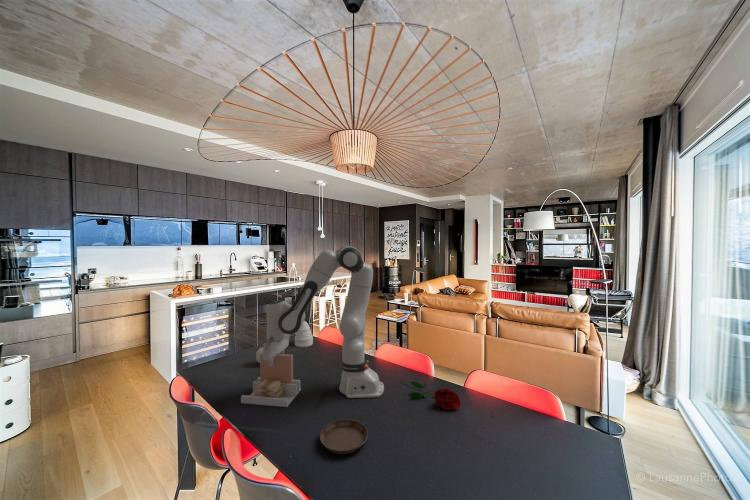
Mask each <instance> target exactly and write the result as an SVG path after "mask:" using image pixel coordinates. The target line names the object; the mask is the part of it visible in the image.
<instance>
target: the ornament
mask: <svg viewBox="0 0 750 500" xmlns="http://www.w3.org/2000/svg"><path fill="white" fill-rule="evenodd" d="M264 344H265V343H262V346H261V347H260V348H258V349H257V351H256V353H255V359H256V362H258V363H259V364H260V354H262V353H263V346H264Z"/></svg>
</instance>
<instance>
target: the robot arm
mask: <svg viewBox="0 0 750 500" xmlns="http://www.w3.org/2000/svg"><path fill="white" fill-rule="evenodd" d="M339 268H343V269H345V270H347V271H348V272H350V274H351V275H350V276H351V277H350V281H349V286H348V290H347V295H346V299H345V304H344V306H343V309H342V313H341V318H340V323H339V332H340V334H341V335H342V336H343V339H342V346H341V347H342V348H341V349H342V350H341V351H342V356H341V357H342V360H341V363H340V364H341V365H340V366H341V368H340V369H341V379H340V385H339V387H338V389H339V392H340V393H341V394H343V395H344V396H346V398H349V399H355V398H359V399H361V398H379V397H381V396H382V395H383V394H384V391H385V384H384V383H383V382H382V381H380V377H379V374H378V373H377V372H376V371H374V370H373V369H371V368H370V367H369V360H366V359H365V340H366V339H365V337H366V313H367V309H368V305H369V301H370V296H371V291H372V285H373V278H374V268H373V266H372V265H371V264H369V263H367V262H364V261H363V258H362V255H361V252H360V251H359V249H358V248H356V247H355V246H351V245H347V246H343V247H342V248H340V249H338V250H336V251H333V250H331V249H324V250H322V251H321V252H320V253H319V255H318V256H317V257H316V258H315V260H314V261H313V263H312V264H311V266H310V267H309V270H308V272H307V274H306V276H305V280H304V282H303V285H302V288H301V290H300V291H299V294H298V295H297V297H296V298H295V300H294V301H293V303H292V304H290V303H288V302H286V301H285V300H283V299H279V300H274V301H271V302H270V303H268V304H267V307H266V319H265V320H266V324H267V325H266V341H265V342H264V343H263V344H264V346H263V353H262V359H263V360H266V361H268V362H269V367H273V366H274V362H273V358H274V357H275V356H276V355H277V354H285V349H286V348H288V347H289V343H290V335H294V334H296V332H297V331H298V330H299V328H300V326H301V325H302V323H303V322H304V321H306V320H305V319H306V310H307V308H308V306H309V305H310V303H311V301H313V299H314V298H315V296H316V295H318V294H319V292H321V291H322V290H323V289H324V288H325V286H326V285H327V284H328V283H329V282H330V280H331V279H332V277H333V275H334V273H335V271H336V270H338V269H339Z"/></svg>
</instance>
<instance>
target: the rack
mask: <svg viewBox="0 0 750 500" xmlns="http://www.w3.org/2000/svg"><path fill="white" fill-rule="evenodd" d="M261 383H262V381H260V376H258V377H257V378H256V380H253V382H252V393H251V394H249V395H247V394H245V395H244V394H242V395H241V396H240V403H241V404H248V405H257V406H258V405H259V406H271V407H280V408H281V407H283V408H288V407H289V406H290V404H291V403H292V402H293V400H294V399H295V398H296V396H297V395H298V394H299V393H300V392H301V390H302V388H301V379H293V384H290V383H281V386H283V391H285V397H284V398H273V397H261V396H255V395H256V391H257V390H258V385H260V384H261Z"/></svg>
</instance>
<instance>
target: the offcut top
mask: <svg viewBox="0 0 750 500" xmlns="http://www.w3.org/2000/svg"><path fill="white" fill-rule="evenodd" d="M280 386H281V381H277V380H264V381H263V382H262V383H261V384H260V385H258V391H264V392H275V391H276V390H277V389H278V388H279V387H280Z"/></svg>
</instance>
